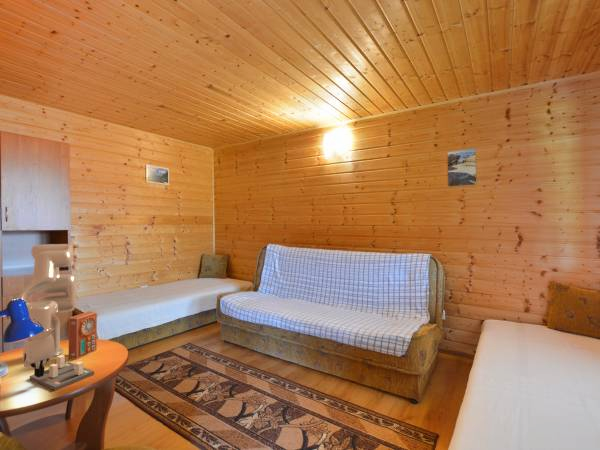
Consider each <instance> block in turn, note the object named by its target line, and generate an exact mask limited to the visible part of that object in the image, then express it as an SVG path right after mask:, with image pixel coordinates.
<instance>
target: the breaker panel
mask: <svg viewBox="0 0 600 450" xmlns="http://www.w3.org/2000/svg"><path fill="white" fill-rule="evenodd" d="M93 375H95V371H94V370H92V369H88V368H87V367H84V366H83V374H81V375H77V374H75V363H72V362H70V361H69V362H65V367H62V368H58V376H57V377H54V378H52V377H50V376H49V368H48V369H46V370H45V369H44V373H43V376H41V377H39V378H38V377H36V376H35V375H34V374H31V375H29V381H32V382H34V383H37V384H39V385H41V386H44V387H46V388H48V389H51V390H53V391H58V390H61V389H63V388H66V387H68V386H70V385H73V384H74V383H77V382H81V381H82V380H85V379H87V378H89V377H91V376H93Z"/></svg>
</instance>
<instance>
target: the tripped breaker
mask: <svg viewBox="0 0 600 450" xmlns="http://www.w3.org/2000/svg"><path fill="white" fill-rule="evenodd" d="M48 369H49V376H50V377H52V378H54V377H57V376H58V365H57V363H52V364H50V365H49V368H48Z"/></svg>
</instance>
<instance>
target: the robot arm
mask: <svg viewBox="0 0 600 450" xmlns="http://www.w3.org/2000/svg"><path fill="white" fill-rule="evenodd" d="M30 253H31V256H32V259H34V264H33V265H34V266H33V275H32V281H31V282H30V283H29V284H27V285H26V286H25V287H24V288H23V290H22V291H21V292H20V294H19V296H18V299H22V300H24V301H25V302H26V305H27V307H28V311H29V314H30V315H29V317H30V319H31V321H32V322H33V323H36V324H38V325H39V327H40V326H41V325H42V326H43V328H44V330H43V332H41V333H40V334H39V333H38V335H36V336H33V337H30V338H26V339H25V342H24V344H23V352H22V362H23V367H25V368H30V367H31V368H33V370H34V371H33V372H34V374H33V375H35V376H36V377H38V378H39V377H41V376H43V373H44V371H45V367H46V366H47V363H49V362H50V361H51V360H53V359H54V358H57V356H60V355H63V353H64V349H63V348H61V346H60V345H61V342H60V341H61V333H60V332H61V321H60V318H59V317H58V316H57V314H59V313H66V312H72V311H74V310H75V309H76V307H77V280H76V277H75V275H73V274H69V273H68V274H60V268H67V267H70V266H71V265H72V264H73V258H74V253H75V252H74V247H73V245H72V244H69V243H59V244H58V243H55V244H54V243H51V244H50V243H49V244H44V243H43V244H38V245H37V244H36V245H34V246H32V248H31V251H30ZM38 291H39V292H40V293H41V294H52V295H46V296H45V295H44V296H41V297H39V298H37V299H36V301H30V302H27V300H28V298H29V297H30V296H31V295H32V294H34V293H36V292H38ZM57 293H59V294H57ZM60 293H64V294H60ZM18 299H17V300H18ZM34 319H35V320H34ZM37 321H38V322H39V323H40V324H41V325H40V324H39V323H38V322H37ZM42 326H41V327H42Z"/></svg>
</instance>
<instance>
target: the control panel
mask: <svg viewBox="0 0 600 450" xmlns="http://www.w3.org/2000/svg"><path fill="white" fill-rule="evenodd" d="M97 342H98V312H97V311H92V310H90V311H85V312H83V313H80V314H77V315H72V316H70V317H69V318H68V359H71V360H78V359H81V358H83V357H85V356H87V355H89V354H91V353H93V352H95V351H97V349H98V348H97V347H98V343H97Z"/></svg>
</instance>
